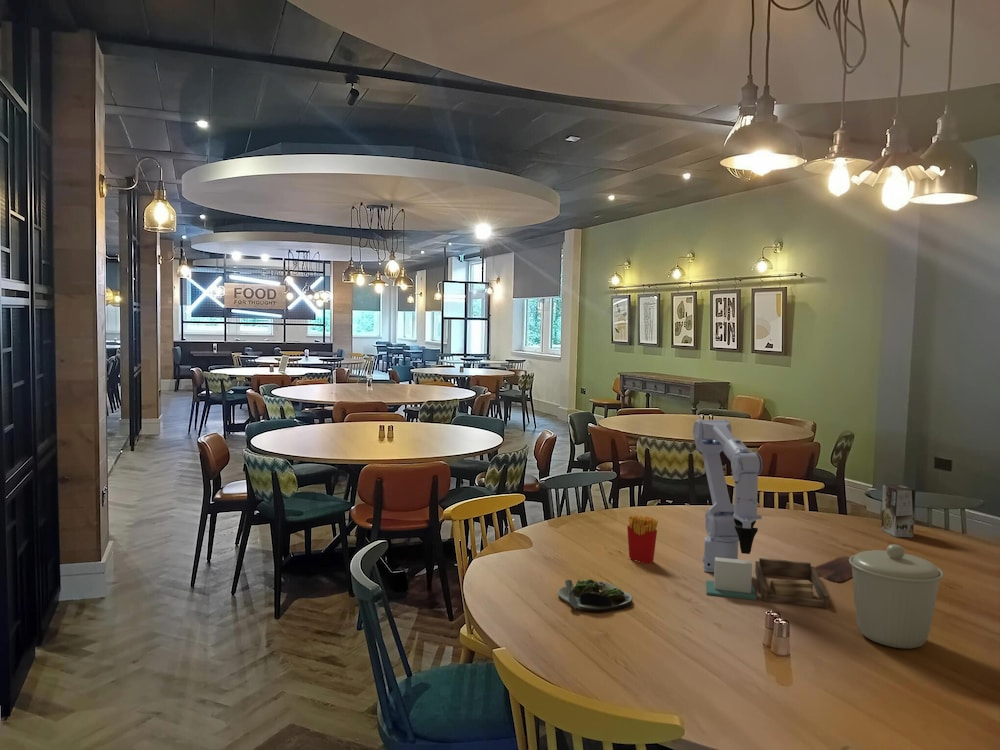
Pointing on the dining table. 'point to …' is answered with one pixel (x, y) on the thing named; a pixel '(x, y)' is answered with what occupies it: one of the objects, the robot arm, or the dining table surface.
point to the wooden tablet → (835, 570)
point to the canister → (894, 596)
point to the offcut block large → (790, 584)
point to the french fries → (642, 538)
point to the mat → (729, 592)
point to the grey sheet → (733, 575)
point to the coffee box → (898, 510)
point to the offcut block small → (793, 592)
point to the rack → (795, 571)
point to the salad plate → (594, 596)
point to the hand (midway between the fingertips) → (744, 549)
